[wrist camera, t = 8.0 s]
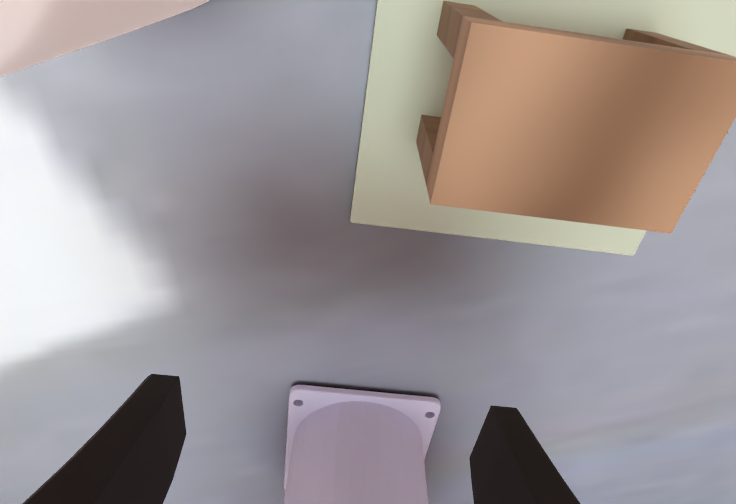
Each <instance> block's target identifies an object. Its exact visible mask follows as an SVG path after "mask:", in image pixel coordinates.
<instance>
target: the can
mask: <svg viewBox="0 0 736 504" xmlns="http://www.w3.org/2000/svg"><path fill="white" fill-rule="evenodd" d="M208 1H209V0H0V76H3V75H6V74H9V73H12V72H15V71H18V70H21V69H24V68H27V67H30V66H33V65H36V64H39V63H42V62H45V61H48V60H51V59H54V58H56V57H59V56H62V55H65V54H68V53H71V52H74V51H77V50H80V49H82V48H85V47H88V46H91V45H94V44H97V43H100V42H102V41H105V40H108V39H111V38H114V37H117V36H119V35H122V34H125V33H128V32H131V31H134V30H136V29H139V28H142V27H145V26H147V25H150V24H153V23H156V22H159V21H161V20H164V19H167V18H170V17H172V16H175V15H178V14H180V13H183V12H186V11H188V10H191V9H193V8H196V7H198V6H200V5H202V4H204V3H206V2H208Z"/></svg>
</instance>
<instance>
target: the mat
mask: <svg viewBox="0 0 736 504" xmlns="http://www.w3.org/2000/svg"><path fill="white" fill-rule="evenodd" d="M443 1H448V2H455V3H461V4H468V5H475V6H476V7H478V8H480V9H482V10H483V11H485V12H487V13H489V14H490V15H492V16H494V17H495V18H497V19H499V20H501V21H502V22H508V23H515V24H522V25H529V26H535V27H542V28H549V29H556V30H562V31H569V32H576V33H583V34H589V35H596V36H603V37H610V38H616V39H623V36H624V34H625V31H626V29H627V28H628V29H635V30H641V31H648V32H655V33H659V34H662V35H665V36H669V37H672V38H675V39H679V40H682V41H685V42H688V43H692V44H695V45H698V46H702V47H705V48H708V49H711V50H715V51H718V52H721V53H725V54H728V55H731V56H734V57H736V0H378V2H377V10H376V18H375V26H374V33H373V41H372V49H371V57H370V65H369V73H368V81H367V89H366V97H365V105H364V113H363V121H362V129H361V137H360V145H359V153H358V161H357V168H356V176H355V184H354V192H353V200H352V208H351V216H350V222H351V223H359V224H368V225H376V226H385V227H393V228H402V229H410V230H419V231H427V232H436V233H445V234H453V235H462V236H470V237H479V238H487V239H496V240H504V241H513V242H521V243H530V244H538V245H547V246H555V247H564V248H573V249H581V250H590V251H598V252H607V253H615V254H624V255H632V256H634V254H635V252H636V250H637V248H638V246H639V244H640V242H641V240H642V239H643V237H644V235H645V233H646V230H638V229H630V228H621V227H613V226H605V225H597V224H588V223H580V222H572V221H564V220H555V219H547V218H539V217H531V216H522V215H514V214H506V213H498V212H489V211H481V210H473V209H465V208H456V207H448V206H440V205H432V204H430V200H429V196H428V191H427V187H426V183H425V178H424V174H423V170H422V165H421V161H420V156H419V152H418V148H417V143H416V140H417V135H418V129H419V124H420V119H421V115H428V116H436V117H441V115H442V111H443V106H444V101H445V97H446V92H447V88H448V83H449V78H450V74H451V69H452V64H453V60H454V58H453V57H452V56H451V54H450V53H449V51H448V50H447V49H446V47H445V46H444V45H443V43H442V42H441V41H440V39H439V38H438V36H437V31H438V26H439V20H440V15H441V10H442V5H443Z"/></svg>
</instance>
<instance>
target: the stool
mask: <svg viewBox="0 0 736 504" xmlns="http://www.w3.org/2000/svg"><path fill="white" fill-rule="evenodd" d="M437 36H438V38H439V39H440V41H441V42H442V43H443V45H444V46H445V47H446V49H447V50H448V51H449V53H450V54H451V56H452V57H453V58H454V60H453V64H452V69H451V74H450V78H449V83H448V88H447V92H446V97H445V101H444V106H443V111H442V115H441V117H436V116H428V115H421V119H420V124H419V129H418V135H417V140H416V143H417V148H418V152H419V156H420V161H421V165H422V170H423V174H424V178H425V183H426V187H427V191H428V196H429V200H430V204H432V205H440V206H448V207H456V208H465V209H473V210H481V211H489V212H498V213H506V214H514V215H522V216H531V217H539V218H547V219H555V220H564V221H572V222H580V223H588V224H597V225H605V226H613V227H621V228H630V229H638V230H646V231H654V232H663V233H672V231H673V229H674V227H675V225H676V224H677V222H678V220H679V218H680V216H681V215H682V213H683V211H684V209H685V207H686V206H687V204H688V202H689V200H690V198H691V197H692V195H693V193H694V191H695V189H696V188H697V186H698V184H699V182H700V180H701V179H702V177H703V175H704V173H705V171H706V170H707V168H708V166H709V164H710V162H711V161H712V159H713V157H714V155H715V153H716V152H717V150H718V148H719V146H720V144H721V143H722V141H723V139H724V137H725V135H726V134H727V132H728V130H729V128H730V126H731V125H732V123H733V121H734V119H735V117H736V57H734V56H731V55H728V54H725V53H721V52H718V51H715V50H711V49H708V48H705V47H702V46H698V45H695V44H692V43H688V42H685V41H682V40H679V39H675V38H672V37H669V36H665V35H662V34H659V33H655V32H648V31H641V30H635V29H628V28H627V29H626V31H625V34H624V36H623V39H616V38H610V37H603V36H596V35H589V34H583V33H576V32H569V31H562V30H556V29H549V28H542V27H535V26H529V25H522V24H515V23H508V22H502V21H501V20H499V19H497V18H495V17H494V16H492V15H490V14H489V13H487V12H485V11H483V10H482V9H480V8H478V7H476V6H475V5H468V4H461V3H455V2H448V1H443V5H442V10H441V15H440V20H439V26H438V31H437Z"/></svg>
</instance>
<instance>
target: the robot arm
mask: <svg viewBox="0 0 736 504" xmlns="http://www.w3.org/2000/svg"><path fill="white" fill-rule="evenodd" d="M440 410H441V404H440V401H439V399H437V398H434V397H426V396H415V395H404V394H394V393H383V392H373V391H362V390H351V389H341V388H330V387H319V386H309V385H295V386H293V387H292V388H291V389H290V394H289V408H288V424H287V441H286V458H285V474H284V490H285V497H284V503H283V504H429V503H428V494H427V484H426V474H425V464H424V459H425V456H426V453H427V450H428V447H429V444H430V441H431V438H432V435H433V432H434V429H435V426H436V422H437V419H438V416H439V413H440ZM185 436H186V428H185V419H184V411H183V403H182V395H181V387H180V379H179V376H168V375H158V374H151V375H149V376H148V377H147V378H146V379H145V380H144V381H143V382H142V383H141V385H140V386H139V387H138V388H137V389H136V390H135V391H134V392H133V394H132V395H131V396H130V397H129V398H128V399H127V400H126V401H125V402H124V403H123V405H122V406H121V407H120V408H119V409H118V410H117V411H116V412H115V413H114V414H113V415H112V416H111V417H110V419H109V420H108V421H107V422H106V423H105V424H104V425H103V426H102V427H101V428H100V429H99V430H98V431H97V432H96V433H95V434H94V435H93V436H92V437H91V438H90V439H89V440H88V441H87V442H86V443H85V444H84V445H83V446H82V447H81V448H80V449H79V450H78V451H77V452H76V453H75V454H74V456H73V457H72V458H71V459H70V460H68V461H67V462H66V463H65V464H64V465H63V466H62V467H61V468H60V469H59V470H58V471H57V472H56V473H55V474H54V475H53V476H52V477H51V478H50V479H48V480H47V481H46V482H45V483H44V484H43V485H42V486H41V487H40V488H39V489H38V490H37V491H36V492H35V493H34V494H32V495H31V496H30V497H29V498H28V499H27V500H26V501H25V502H24V503H23V504H163V502H164V499H165V497H166V495H167V492H168V490H169V487H170V485H171V482H172V480H173V477H174V473H175V470H176V467H177V464H178V461H179V457H180V454H181V450H182V447H183V443H184V440H185ZM470 468H471V479H472V489H473V498H474V504H580V503H579V501H578V500H577V498H576V497H575V495H574V494H573V493H572V491H571V490H570V488H569V487H568V485H567V484H566V483H565V481H564V480H563V478H562V477H561V475H560V474H559V472H558V471H557V469H556V468H555V466H554V465H553V463H552V462H551V460H550V459H549V457H548V456H547V454H546V453H545V451H544V450H543V448H542V447H541V445H540V443H539V442H538V440H537V439H536V437H535V436H534V434H533V433H532V431H531V429H530V428H529V426H528V425H527V423H526V422H525V420H524V418H523V417H522V415H521V414H520V412H519V411H518V410H517V408H510V407H500V406H491V407H490V410H489V412H488V414H487V417H486V419H485V422H484V424H483V427H482V429H481V431H480V434H479V436H478V439H477V441H476V444H475V446H474V448H473V451H472V453H471V456H470Z"/></svg>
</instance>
